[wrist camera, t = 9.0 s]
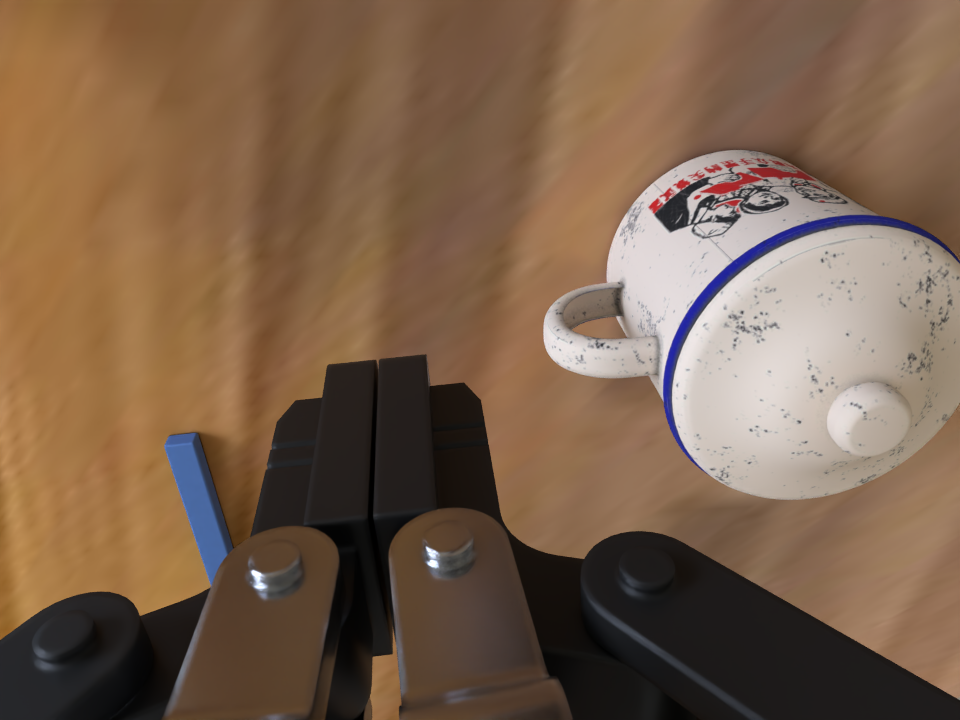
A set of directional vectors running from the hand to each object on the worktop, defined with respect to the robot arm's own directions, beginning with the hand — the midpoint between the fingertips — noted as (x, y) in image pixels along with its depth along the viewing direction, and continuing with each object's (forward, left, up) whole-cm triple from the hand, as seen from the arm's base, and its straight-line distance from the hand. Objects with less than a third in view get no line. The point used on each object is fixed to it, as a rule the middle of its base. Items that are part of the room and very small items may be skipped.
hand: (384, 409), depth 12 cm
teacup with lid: (+5, +10, -17) cm, 20 cm away
